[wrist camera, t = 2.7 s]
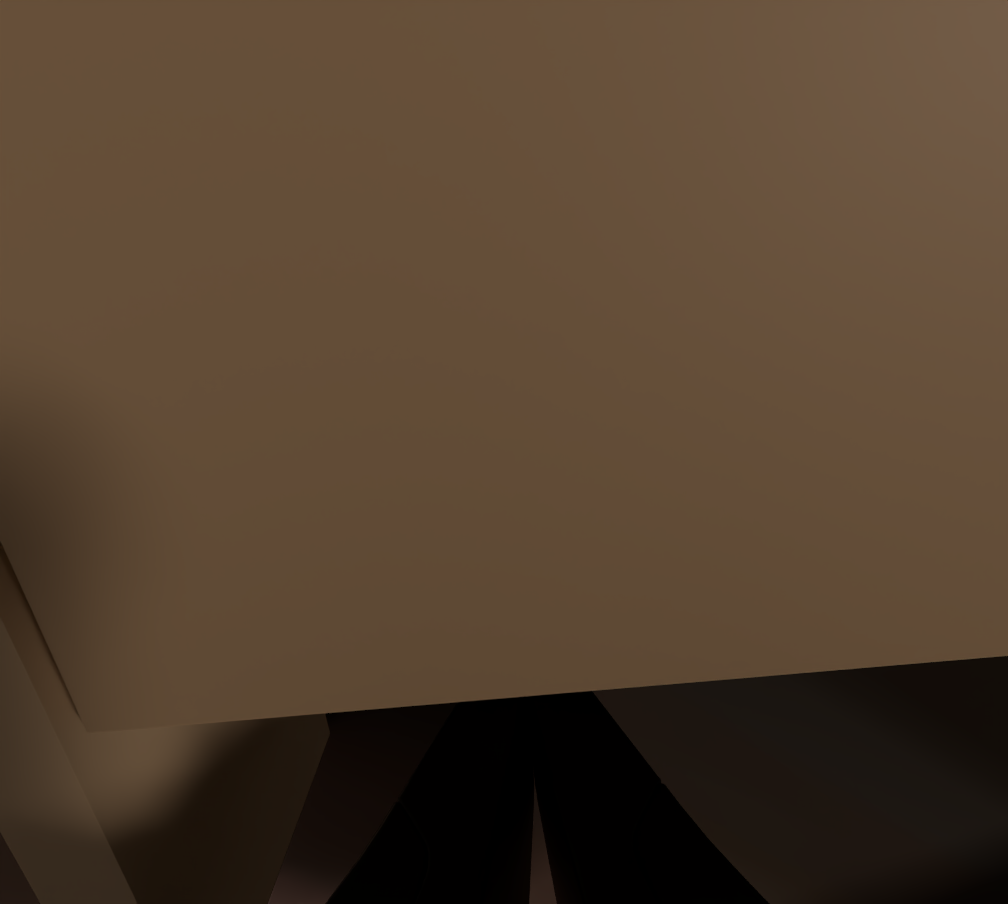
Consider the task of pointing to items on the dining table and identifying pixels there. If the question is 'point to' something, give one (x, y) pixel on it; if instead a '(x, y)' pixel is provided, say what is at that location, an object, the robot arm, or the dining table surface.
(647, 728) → the dining table surface
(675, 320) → the carton
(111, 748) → the flap
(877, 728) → the dining table surface
